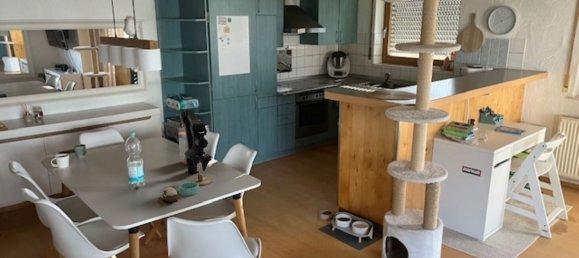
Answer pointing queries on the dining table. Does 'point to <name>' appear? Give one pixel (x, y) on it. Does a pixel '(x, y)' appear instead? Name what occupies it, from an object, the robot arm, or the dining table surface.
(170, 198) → the skull
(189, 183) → the bowl
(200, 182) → the lid
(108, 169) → the dining table surface
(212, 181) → the mat
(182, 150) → the cracker box
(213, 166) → the dining table surface
